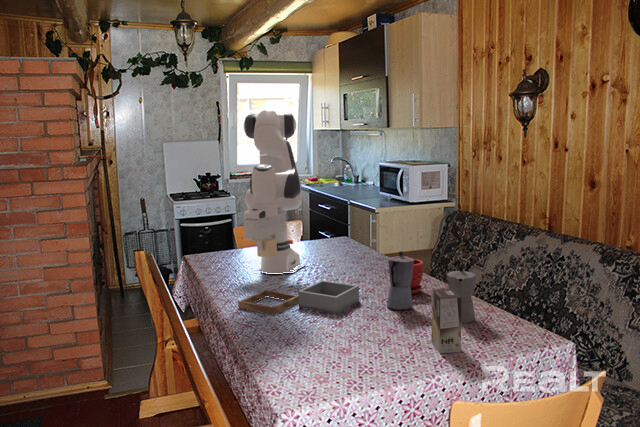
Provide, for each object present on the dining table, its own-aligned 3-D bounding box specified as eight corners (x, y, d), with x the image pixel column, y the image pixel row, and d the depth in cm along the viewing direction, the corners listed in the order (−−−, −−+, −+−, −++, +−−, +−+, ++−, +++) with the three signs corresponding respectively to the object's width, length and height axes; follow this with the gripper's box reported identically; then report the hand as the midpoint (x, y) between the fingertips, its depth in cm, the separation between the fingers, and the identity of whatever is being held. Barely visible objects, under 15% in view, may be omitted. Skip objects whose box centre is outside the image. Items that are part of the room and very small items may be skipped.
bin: (322, 295, 207) (322, 280, 206) (359, 301, 199) (358, 285, 198) (298, 307, 194) (298, 291, 193) (336, 314, 185) (336, 297, 185)
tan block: (266, 253, 198) (265, 237, 197) (277, 254, 196) (276, 238, 195) (257, 256, 194) (256, 239, 193) (268, 257, 191) (267, 241, 190)
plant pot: (429, 290, 210) (429, 260, 209) (410, 298, 201) (410, 267, 199) (401, 284, 219) (401, 255, 217) (382, 292, 210) (382, 262, 208)
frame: (265, 296, 208) (265, 289, 208) (299, 302, 200) (299, 295, 199) (238, 308, 195) (238, 301, 195) (273, 315, 186) (273, 308, 186)
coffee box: (461, 352, 151) (462, 297, 149) (439, 353, 151) (440, 298, 148) (451, 340, 160) (451, 288, 158) (430, 341, 160) (430, 289, 157)
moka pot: (418, 302, 196) (418, 248, 193) (407, 315, 182) (406, 258, 179) (393, 299, 200) (393, 246, 197) (380, 312, 186) (379, 256, 183)
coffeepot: (474, 326, 171) (475, 271, 168) (444, 324, 173) (444, 269, 171) (476, 311, 185) (477, 260, 182) (448, 308, 188) (448, 258, 185)
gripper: (275, 205, 202) (277, 241, 205) (240, 214, 185) (242, 253, 188) (289, 206, 199) (290, 243, 201) (254, 215, 182) (256, 255, 184)
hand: (267, 248), depth 194 cm, fingers closed on tan block, 5 cm apart
